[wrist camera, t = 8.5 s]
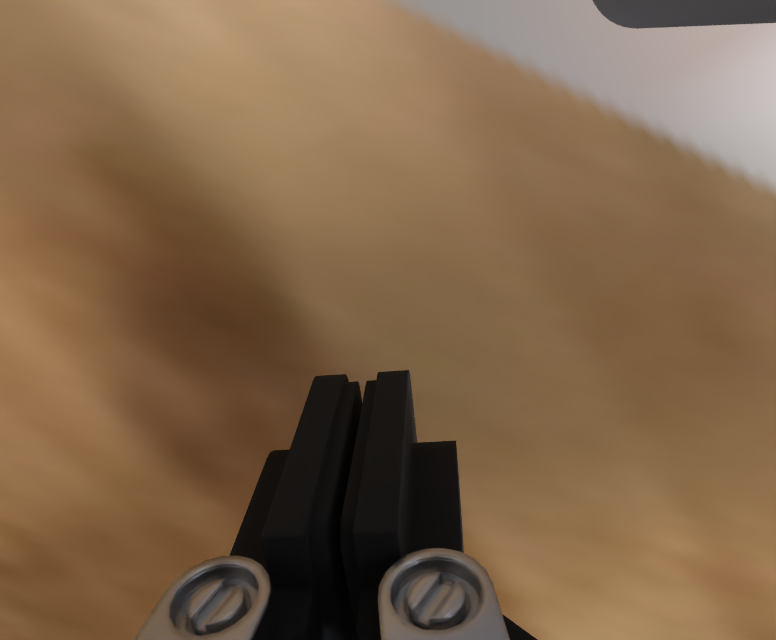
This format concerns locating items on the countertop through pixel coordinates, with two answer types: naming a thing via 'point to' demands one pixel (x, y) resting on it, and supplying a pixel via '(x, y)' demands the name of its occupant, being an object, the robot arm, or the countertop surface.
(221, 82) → the countertop surface
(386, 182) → the countertop surface
